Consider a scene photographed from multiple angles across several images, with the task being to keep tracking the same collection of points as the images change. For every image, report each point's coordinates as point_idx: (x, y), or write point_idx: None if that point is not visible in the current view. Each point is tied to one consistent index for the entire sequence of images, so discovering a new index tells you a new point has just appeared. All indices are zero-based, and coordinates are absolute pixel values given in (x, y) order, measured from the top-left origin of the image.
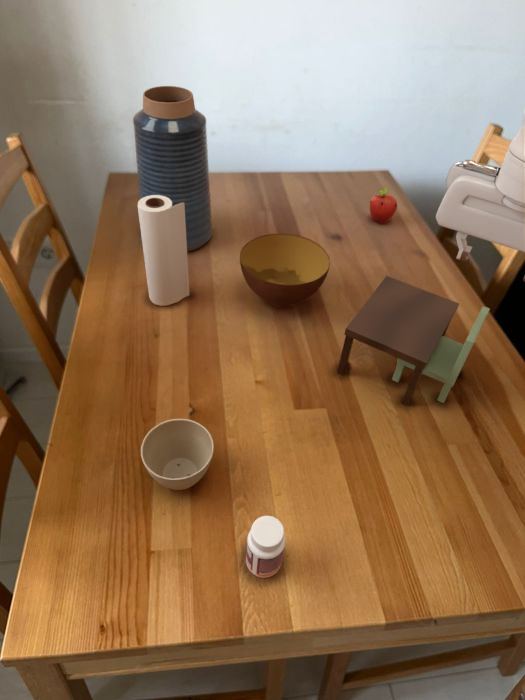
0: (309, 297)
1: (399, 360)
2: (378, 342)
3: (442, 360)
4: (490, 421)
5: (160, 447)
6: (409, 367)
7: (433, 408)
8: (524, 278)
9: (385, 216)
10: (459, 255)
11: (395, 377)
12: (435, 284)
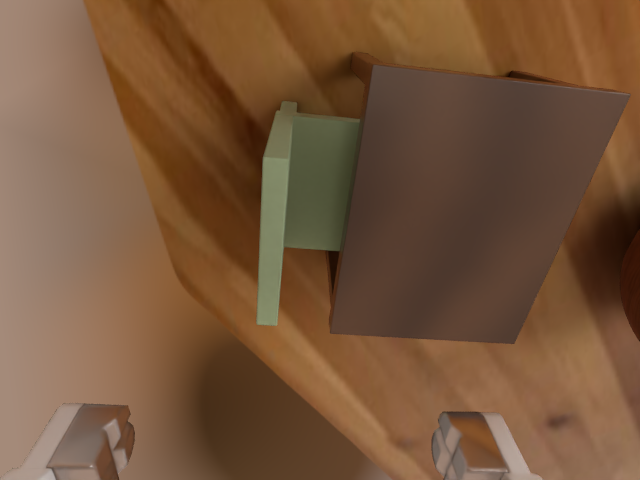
0: (636, 240)
1: None
2: (526, 81)
3: (319, 174)
4: (179, 102)
5: None
6: None
7: (298, 76)
8: (113, 419)
9: None
10: (501, 433)
11: None
12: (365, 393)
